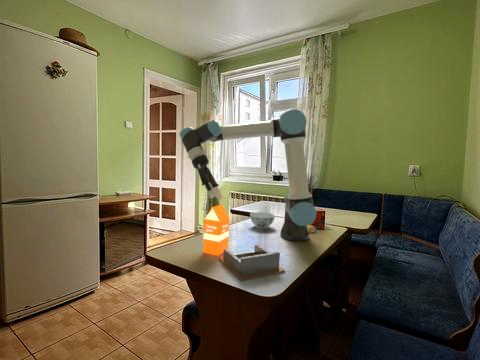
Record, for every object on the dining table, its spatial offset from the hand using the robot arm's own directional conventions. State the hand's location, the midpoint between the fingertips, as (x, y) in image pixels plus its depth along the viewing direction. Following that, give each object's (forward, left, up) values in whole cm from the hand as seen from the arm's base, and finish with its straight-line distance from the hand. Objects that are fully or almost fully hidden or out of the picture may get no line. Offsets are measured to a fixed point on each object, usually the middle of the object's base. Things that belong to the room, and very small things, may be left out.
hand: (217, 198), depth 115 cm
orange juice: (0, +6, -22) cm, 23 cm away
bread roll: (-55, -26, -23) cm, 65 cm away
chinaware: (-29, -33, -22) cm, 49 cm away
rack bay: (-13, +22, -22) cm, 34 cm away
